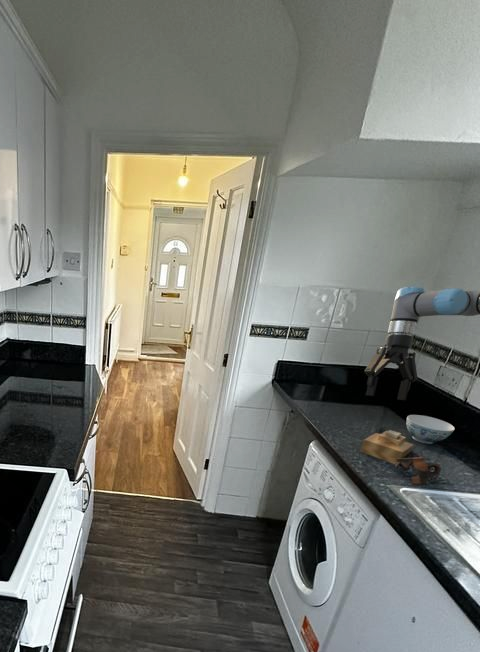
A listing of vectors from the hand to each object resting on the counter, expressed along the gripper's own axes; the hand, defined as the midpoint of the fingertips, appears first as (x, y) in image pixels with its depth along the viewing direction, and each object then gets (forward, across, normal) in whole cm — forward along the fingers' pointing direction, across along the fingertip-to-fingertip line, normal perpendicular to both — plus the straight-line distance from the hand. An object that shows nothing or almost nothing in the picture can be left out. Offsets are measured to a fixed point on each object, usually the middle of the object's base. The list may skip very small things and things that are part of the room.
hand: (385, 397), depth 143 cm
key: (+13, -7, 0) cm, 15 cm away
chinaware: (+14, -33, -10) cm, 37 cm away
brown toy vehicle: (+24, -2, +14) cm, 28 cm away
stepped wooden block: (+20, -6, -1) cm, 21 cm away
